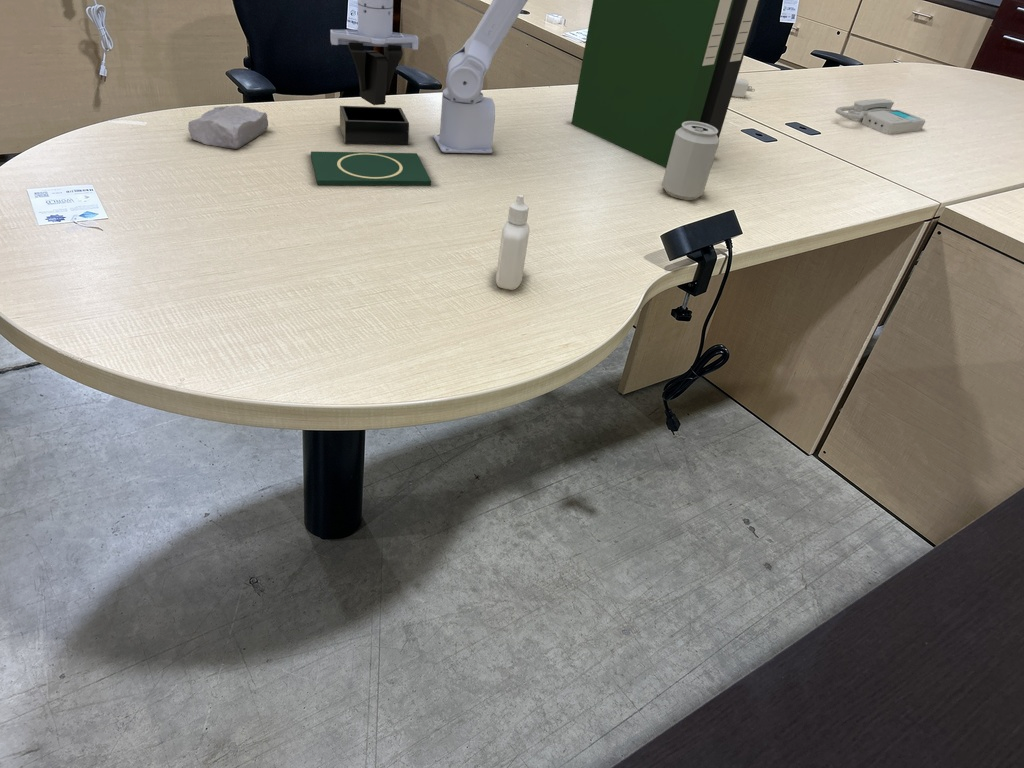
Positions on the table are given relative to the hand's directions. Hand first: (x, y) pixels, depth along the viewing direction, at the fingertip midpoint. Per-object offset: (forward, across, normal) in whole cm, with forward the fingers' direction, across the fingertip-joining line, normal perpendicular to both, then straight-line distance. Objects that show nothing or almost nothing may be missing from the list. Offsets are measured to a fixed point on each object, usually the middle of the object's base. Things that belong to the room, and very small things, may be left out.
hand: (374, 90), depth 129 cm
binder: (+8, +55, +1) cm, 56 cm away
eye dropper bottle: (+8, +10, -53) cm, 54 cm away
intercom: (+9, +128, +16) cm, 130 cm away
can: (+8, +51, -25) cm, 57 cm away
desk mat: (+8, -3, -16) cm, 18 cm away
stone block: (+8, -25, -1) cm, 26 cm away
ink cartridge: (+2, 0, 0) cm, 2 cm away
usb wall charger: (+8, +100, +36) cm, 107 cm away
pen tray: (+8, 0, 0) cm, 8 cm away
